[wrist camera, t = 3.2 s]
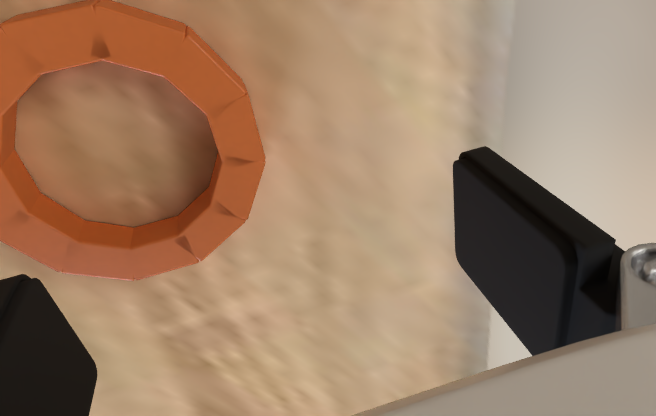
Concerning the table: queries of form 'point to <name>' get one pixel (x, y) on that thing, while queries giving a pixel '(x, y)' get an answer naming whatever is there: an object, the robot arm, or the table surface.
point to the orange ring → (148, 56)
